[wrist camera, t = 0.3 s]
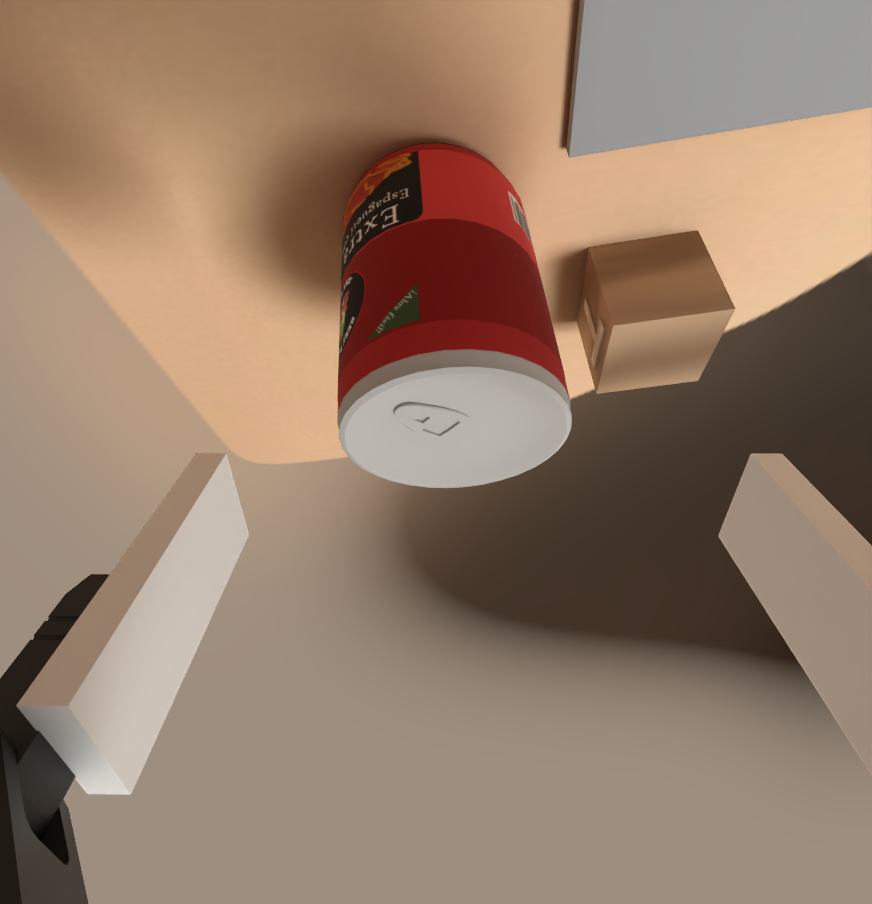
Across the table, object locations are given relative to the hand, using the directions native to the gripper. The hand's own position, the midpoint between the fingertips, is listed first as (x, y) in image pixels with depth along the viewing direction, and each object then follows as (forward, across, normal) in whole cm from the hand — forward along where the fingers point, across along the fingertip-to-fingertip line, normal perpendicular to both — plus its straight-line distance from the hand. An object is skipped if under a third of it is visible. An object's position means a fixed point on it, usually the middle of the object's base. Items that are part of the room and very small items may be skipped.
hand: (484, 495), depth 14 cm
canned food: (+14, -2, +4) cm, 15 cm away
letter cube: (+16, +8, +1) cm, 18 cm away
